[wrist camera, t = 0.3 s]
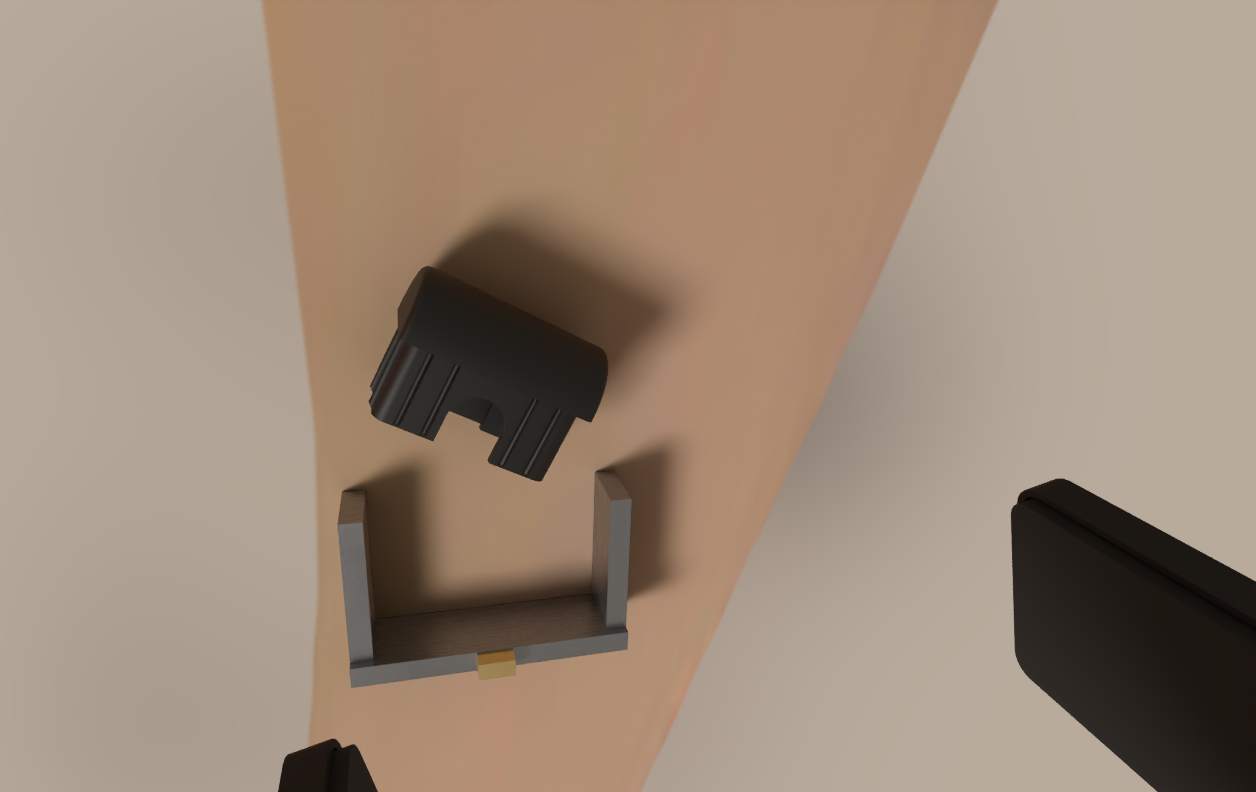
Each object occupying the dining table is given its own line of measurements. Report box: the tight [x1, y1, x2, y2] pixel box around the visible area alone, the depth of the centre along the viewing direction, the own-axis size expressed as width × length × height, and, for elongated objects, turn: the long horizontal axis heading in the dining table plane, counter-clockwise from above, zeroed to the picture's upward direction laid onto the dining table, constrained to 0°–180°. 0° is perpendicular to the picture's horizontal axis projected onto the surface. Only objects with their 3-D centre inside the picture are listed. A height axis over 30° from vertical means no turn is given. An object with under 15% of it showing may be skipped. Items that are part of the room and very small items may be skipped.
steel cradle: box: [338, 470, 632, 688], centre depth 45 cm, size 10×15×5 cm, turn 89°
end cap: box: [369, 266, 608, 481], centre depth 40 cm, size 10×7×7 cm
